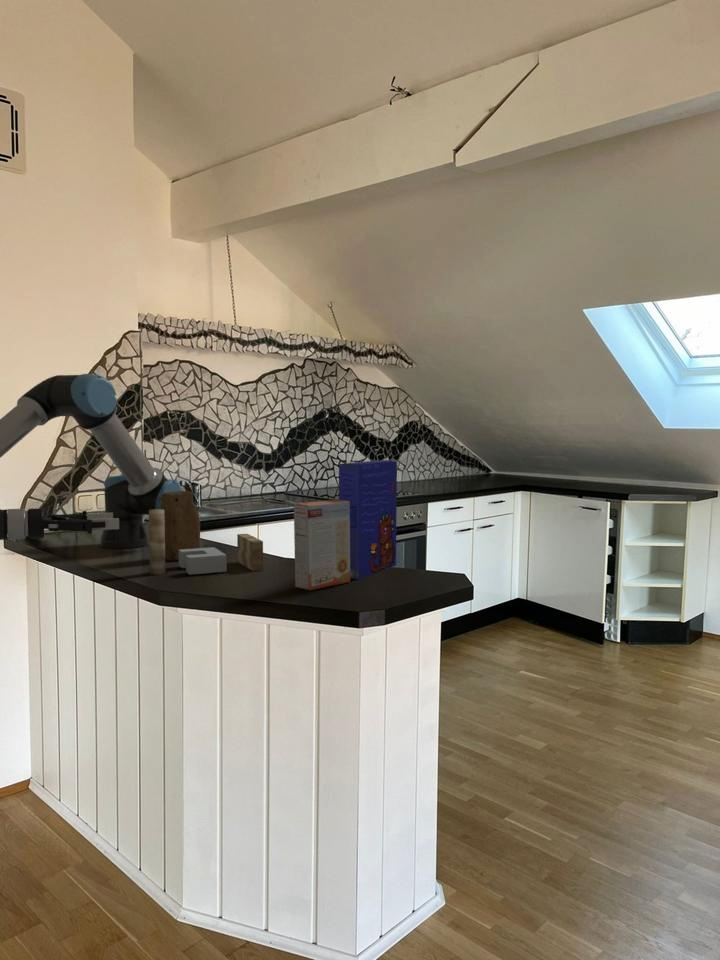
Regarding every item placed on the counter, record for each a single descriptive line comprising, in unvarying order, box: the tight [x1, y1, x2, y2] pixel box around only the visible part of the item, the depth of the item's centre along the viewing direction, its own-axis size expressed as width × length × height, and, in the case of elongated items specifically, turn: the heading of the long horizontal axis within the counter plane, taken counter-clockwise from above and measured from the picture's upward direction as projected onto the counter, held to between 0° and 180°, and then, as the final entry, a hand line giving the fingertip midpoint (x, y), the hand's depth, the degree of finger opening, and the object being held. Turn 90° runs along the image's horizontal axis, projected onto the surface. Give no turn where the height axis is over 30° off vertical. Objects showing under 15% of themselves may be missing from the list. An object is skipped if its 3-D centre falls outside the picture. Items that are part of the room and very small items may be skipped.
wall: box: [236, 533, 264, 572], centre depth 208 cm, size 15×3×8 cm, turn 25°
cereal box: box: [338, 459, 398, 581], centre depth 200 cm, size 22×6×30 cm, turn 151°
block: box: [161, 490, 201, 562], centre depth 218 cm, size 11×8×20 cm
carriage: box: [178, 547, 228, 576], centre depth 202 cm, size 14×10×4 cm
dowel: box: [148, 509, 166, 576], centre depth 197 cm, size 4×4×17 cm
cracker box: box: [293, 499, 351, 591], centre depth 183 cm, size 14×6×21 cm, turn 134°
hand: (116, 520), depth 193 cm, fingers open, 13 cm apart
